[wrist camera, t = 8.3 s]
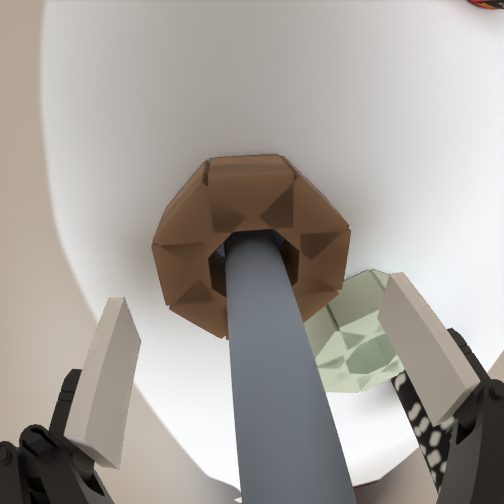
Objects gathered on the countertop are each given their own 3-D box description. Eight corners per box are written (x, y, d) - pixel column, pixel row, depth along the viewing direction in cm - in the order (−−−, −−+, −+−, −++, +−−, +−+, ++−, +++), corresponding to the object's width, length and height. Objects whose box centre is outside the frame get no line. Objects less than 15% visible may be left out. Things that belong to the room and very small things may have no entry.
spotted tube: (453, 355, 31) (517, 475, 13) (403, 391, 33) (453, 515, 16) (440, 330, 27) (522, 478, 10) (380, 374, 29) (440, 528, 12)
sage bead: (402, 252, 21) (429, 283, 18) (410, 329, 26) (428, 359, 23) (284, 306, 22) (295, 346, 19) (319, 371, 27) (329, 404, 24)
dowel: (271, 210, 18) (373, 499, 5) (271, 252, 20) (344, 516, 6) (222, 213, 18) (241, 524, 4) (225, 256, 20) (247, 532, 6)
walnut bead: (329, 153, 17) (357, 172, 13) (318, 289, 22) (334, 327, 18) (156, 164, 16) (139, 186, 13) (181, 301, 21) (176, 342, 18)
